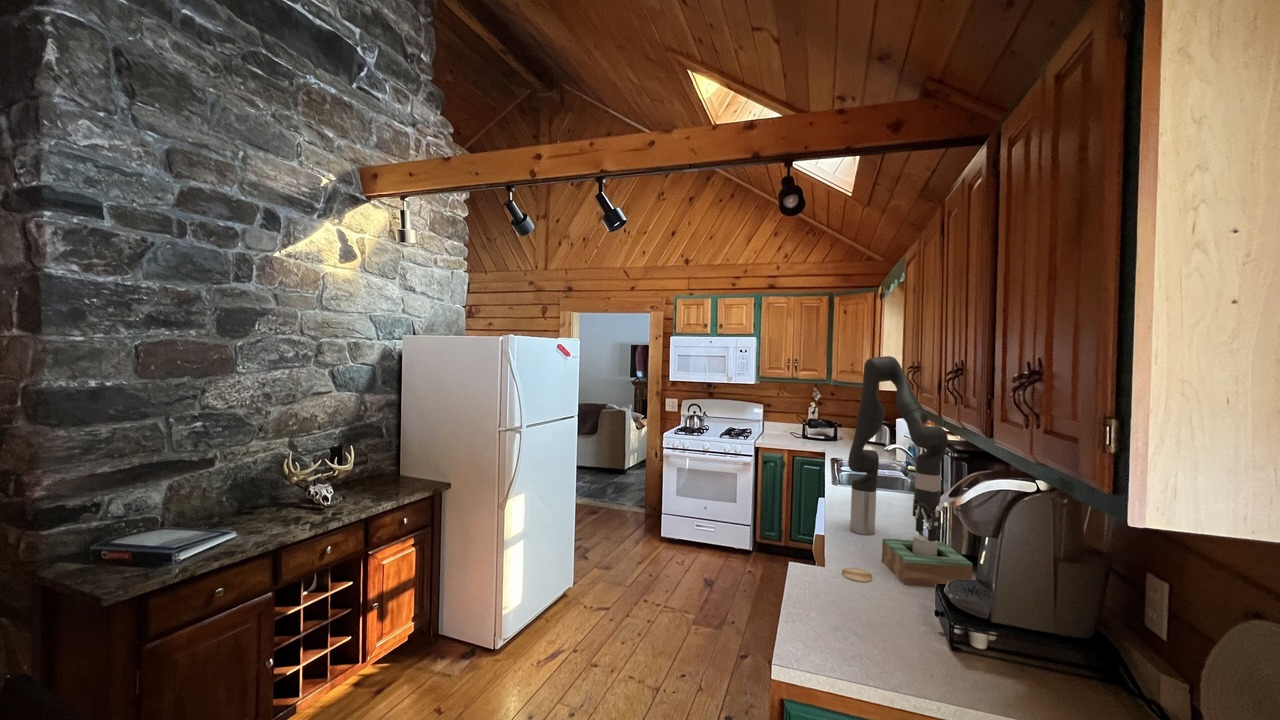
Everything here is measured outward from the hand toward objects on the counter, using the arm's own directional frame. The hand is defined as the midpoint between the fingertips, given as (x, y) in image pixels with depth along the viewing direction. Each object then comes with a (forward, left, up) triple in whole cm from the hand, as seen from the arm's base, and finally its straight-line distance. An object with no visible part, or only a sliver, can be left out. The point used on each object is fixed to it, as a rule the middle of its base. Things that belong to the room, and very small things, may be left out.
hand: (925, 536), depth 167 cm
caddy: (0, 0, -13) cm, 13 cm away
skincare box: (0, 0, -13) cm, 13 cm away
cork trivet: (+5, -23, -13) cm, 27 cm away
